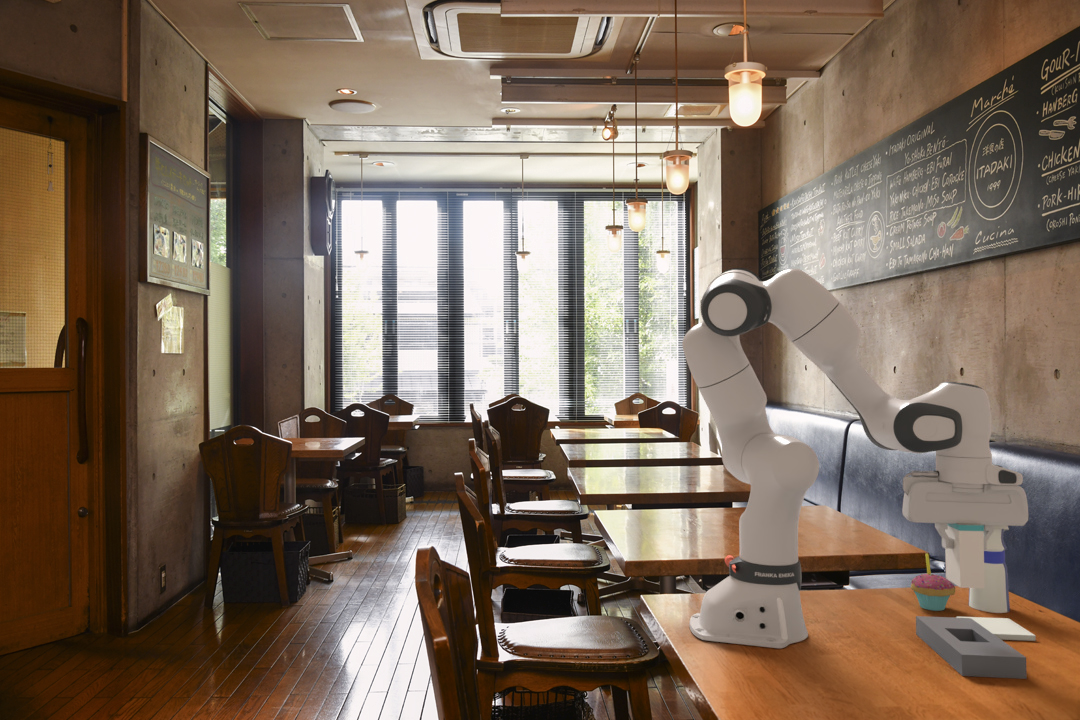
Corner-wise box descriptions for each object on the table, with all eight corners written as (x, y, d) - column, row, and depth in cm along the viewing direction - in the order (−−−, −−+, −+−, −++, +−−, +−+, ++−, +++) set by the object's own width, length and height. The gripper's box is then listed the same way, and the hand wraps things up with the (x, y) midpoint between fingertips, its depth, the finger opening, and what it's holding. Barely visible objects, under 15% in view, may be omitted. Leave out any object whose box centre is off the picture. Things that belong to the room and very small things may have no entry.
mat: (979, 638, 138) (979, 633, 138) (956, 621, 148) (956, 616, 148) (1035, 640, 137) (1035, 635, 137) (1008, 623, 147) (1008, 618, 147)
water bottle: (968, 598, 164) (966, 487, 164) (1013, 606, 158) (1011, 491, 159) (961, 607, 157) (959, 492, 158) (1008, 615, 152) (1005, 495, 153)
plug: (960, 587, 128) (958, 524, 128) (945, 578, 134) (944, 518, 134) (985, 588, 127) (983, 525, 128) (969, 579, 133) (967, 518, 134)
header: (962, 675, 121) (961, 654, 121) (916, 634, 141) (915, 616, 141) (1026, 678, 120) (1026, 657, 120) (971, 636, 140) (970, 618, 140)
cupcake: (902, 602, 161) (901, 548, 162) (938, 601, 162) (937, 547, 162) (927, 614, 153) (926, 557, 153) (964, 613, 154) (963, 556, 154)
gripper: (909, 472, 129) (909, 550, 129) (1032, 475, 127) (1033, 555, 126) (896, 468, 136) (897, 542, 135) (1014, 471, 133) (1014, 546, 133)
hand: (964, 548), depth 131 cm, fingers closed on plug, 4 cm apart
